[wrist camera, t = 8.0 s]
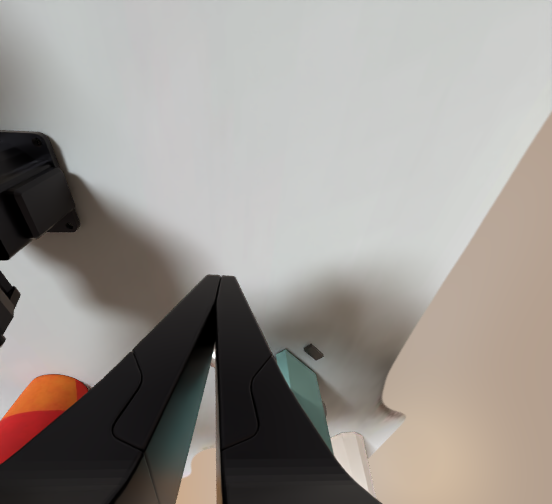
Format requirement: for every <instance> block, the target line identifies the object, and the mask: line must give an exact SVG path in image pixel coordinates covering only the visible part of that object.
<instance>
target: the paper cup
mask: <svg viewBox="0 0 552 504" xmlns="http://www.w3.org/2000/svg"><path fill="white" fill-rule="evenodd" d="M87 392H88V389H87V387H86V386H85V385H84V384H83V383H82V382H80V381H79V380H77V379H74V378H72V377H69V376H64V375H57V374H49V375H42V376H39V377H37V378H35V379H34V380H33V381H32V382H31V383H30V384H29V385H28V386H27V387H26V389H25V390H24V391H23V392H22V394H21V395H20V396H19V398H18V399H17V400H16V401H15V403H14V404H13V405H12V407H11V408H10V409H9V410H8V412H7V413H6V414H5V416H4V417H3V418H2V420H1V421H0V464H1V463H3V462H4V461H6V460H7V459H8V458H9V457H11V456H12V455H13V454H14V453H16V452H17V451H18V450H19V449H20V448H22V447H23V446H24V445H25V444H26V443H28V442H29V441H30V440H31V439H32V438H34V437H35V436H36V435H37V434H38V433H40V432H41V431H42V430H43V429H44V428H45V427H47V426H48V425H49V424H50V423H51V422H53V421H54V420H55V419H56V418H57V417H59V416H60V415H61V414H62V413H63V412H65V411H66V410H67V409H68V408H69V407H71V406H72V405H73V404H74V403H75V402H77V401H78V400H79V399H80V398H81V397H82V396H83V395H85V394H86V393H87Z"/></svg>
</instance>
